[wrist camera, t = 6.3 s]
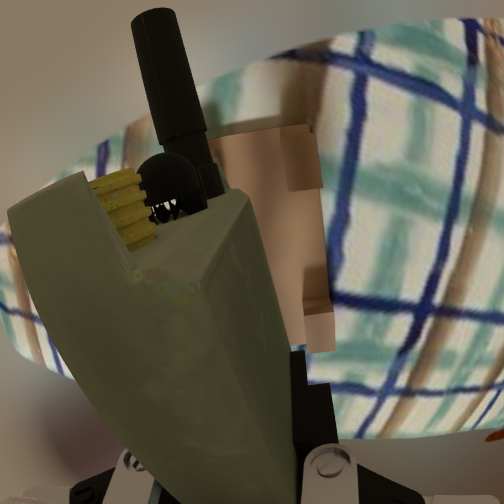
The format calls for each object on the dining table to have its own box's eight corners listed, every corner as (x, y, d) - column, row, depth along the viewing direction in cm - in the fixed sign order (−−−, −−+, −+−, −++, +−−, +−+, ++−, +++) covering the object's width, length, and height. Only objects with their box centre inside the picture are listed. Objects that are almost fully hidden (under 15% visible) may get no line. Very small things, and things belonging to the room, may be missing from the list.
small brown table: (307, 124, 23) (312, 119, 19) (330, 334, 29) (335, 359, 25) (190, 144, 24) (175, 143, 21) (233, 344, 30) (227, 369, 27)
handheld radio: (284, 500, 15) (119, 52, 8) (334, 493, 14) (213, 14, 7) (282, 582, 8) (-35, -13, 1) (340, 576, 8) (129, -131, 1)
